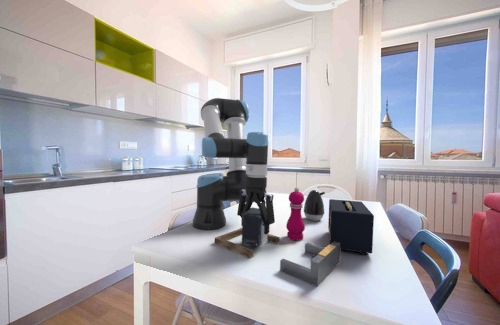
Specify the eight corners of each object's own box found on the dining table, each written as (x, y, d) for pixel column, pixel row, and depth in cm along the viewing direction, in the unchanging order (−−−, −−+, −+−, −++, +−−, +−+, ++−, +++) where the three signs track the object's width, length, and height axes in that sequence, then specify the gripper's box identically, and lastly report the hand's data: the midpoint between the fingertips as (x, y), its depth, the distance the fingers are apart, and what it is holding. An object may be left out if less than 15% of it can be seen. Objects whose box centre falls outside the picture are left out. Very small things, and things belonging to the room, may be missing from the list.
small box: (259, 247, 73) (259, 216, 72) (241, 244, 75) (241, 214, 74) (266, 235, 83) (267, 208, 82) (250, 233, 85) (250, 207, 84)
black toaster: (328, 231, 95) (329, 197, 95) (360, 235, 91) (362, 199, 91) (330, 252, 75) (331, 208, 74) (372, 258, 71) (374, 212, 70)
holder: (214, 243, 80) (214, 237, 80) (245, 231, 93) (245, 226, 93) (250, 258, 69) (250, 252, 69) (279, 242, 82) (279, 237, 82)
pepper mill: (304, 242, 83) (306, 189, 82) (285, 240, 84) (287, 188, 83) (304, 235, 90) (305, 186, 89) (286, 233, 91) (287, 185, 90)
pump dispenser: (327, 222, 107) (328, 192, 107) (306, 222, 107) (307, 191, 107) (320, 216, 117) (321, 188, 117) (301, 216, 117) (302, 188, 117)
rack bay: (279, 270, 62) (280, 249, 61) (306, 251, 75) (307, 233, 74) (317, 286, 55) (318, 262, 54) (339, 262, 68) (340, 242, 67)
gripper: (228, 174, 81) (226, 234, 83) (275, 180, 68) (272, 251, 69) (241, 172, 87) (240, 228, 88) (287, 178, 74) (284, 244, 75)
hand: (254, 238), depth 79 cm, fingers closed on small box, 8 cm apart
